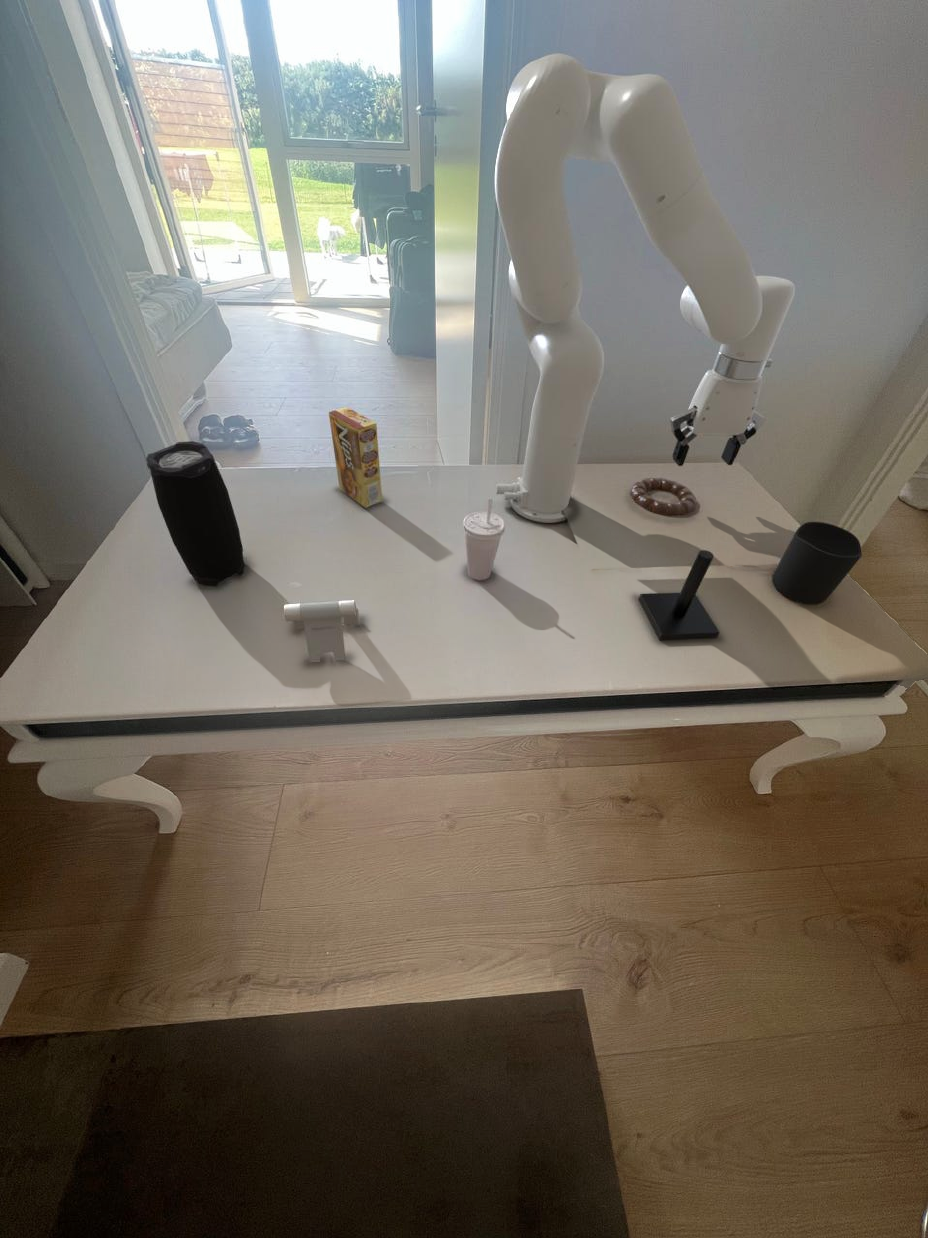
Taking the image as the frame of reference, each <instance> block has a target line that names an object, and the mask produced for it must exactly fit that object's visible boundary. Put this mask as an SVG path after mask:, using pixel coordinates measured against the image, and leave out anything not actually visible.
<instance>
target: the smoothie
mask: <svg viewBox="0 0 928 1238" xmlns="http://www.w3.org/2000/svg"><path fill="white" fill-rule="evenodd" d="M487 499H488V501H487V509H486V511H474V512H472V513H469V514H468V515H466V516H465V517H464V518H463V523H462V530H463V533H464V538H465V551H466V565H467V575H468V576H469V577H470V578H471V579H473V580H475V581H485V580H487V579H488V578H489V579H490V576H491V573H492V569H493V566H494V564H495V563H494V562H495V559H496V556H497V552H498V548H499V545H500V542H501V538H502V536H503V535H504V533H505V527H506V522H505V521H504V519H503V518H502V517H501V516H500V515H497V514H495V513H492V505H493V497H492V496H489V497H488V498H487Z"/></svg>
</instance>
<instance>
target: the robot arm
mask: <svg viewBox="0 0 928 1238" xmlns="http://www.w3.org/2000/svg"><path fill="white" fill-rule="evenodd" d="M505 109H506V120H507V121H506V123H505V125H504V128H503V130H502V135H501V137H500V142H499V146H498V150H497V155H496V162H495V168H494V169H495V171H494V193H495V201H496V206H497V211H498V215H499V219H500V222H501V227H502V232H503V234H504V238H505V243H506V247H507V250H508V254H509V257H510V261H509V267H508V284H509V289H510V293H511V296H512V299H513V302H514V305H515V308H516V312H517V315H518V318H519V321H520V324H521V327H522V331H523V334H524V337H525V340H526V343H527V346H528V349H529V351H530V354H531V356H532V358H533V360H534V362H535V363H536V365H537V367H538V370H539V381H538V385H537V388H536V391H535V394H534V399H533V403H532V408H531V413H530V418H529V420H530V421H529V428H528V434H527V441H526V449H525V454H524V455H525V456H524V462H523V468H522V476H518V477H517V482H512V483H511V484H507V483H496V484H495V489H494V491H495V495H503V500H504V501H510V505H511V507H512V509H513V510H514V512H516V513H517V514H518V515H519V516H521V517H523V518H525V519H527V520H529V521H532V522H533V521H534V522H537V523H543V524H554V523H560V522H564V521H566V520H568V519H567V516H566V513H565V511H564V510H565V509H566V508H568V506H569V503H570V499H571V494H572V490H573V486H574V481H575V477H576V472H577V467H578V464H579V459H580V455H581V449H582V446H583V441H584V436H585V433H586V427H587V423H588V418H589V415H590V411H591V408H592V405H593V404H592V403H593V401H594V397H595V395H596V393H597V390H598V388H599V384H600V382H601V379H602V376H603V373H604V367H605V352H604V348H603V344H602V343H601V340H600V339H599V337H598V336H597V334H596V333H595V332H594V330H593V329H592V328H591V327H590V326H589V325H588V323H586V322H585V321H584V320H583V319H582V316H581V313H580V309H579V303H580V301H581V297H582V294H583V274H582V268H581V265H580V262H579V257H578V254H577V251H576V247H575V243H574V238H573V235H572V231H571V225H570V222H569V217H568V211H567V206H566V200H565V191H564V176H565V175H564V174H565V170H566V169H565V168H566V164H567V161H568V158H574V159H578V160H579V159H580V160H586V161H592V162H600V163H607V164H612V165H614V166H615V168H616V170H617V172H618V175H619V176H620V179H621V181H622V183H623V186H624V187H625V189H626V191H627V193H628V196H629V199H630V200H631V202H632V205H633V207H634V209H635V211H636V213H637V216H638V219H639V220H640V222H641V225H642V227H643V229H644V232H645V234H646V235H647V237H648V239H649V241H650V242H651V243H652V245H653V247H654V248H655V250H657V252H658V253H659V254H660V255H661V256H662V257H663V258H664V259H665V260H666V261H667V262H668V263H669V264H670V265H672V266H673V268H674V269H675V270H676V271H677V272H678V273H679V274H680V276H681V277H682V278H683V280H684V282H685V283H686V286H685V287H684V289H683V291H682V293H681V296H680V299H679V301H680V302H679V309H680V314H681V315H682V317H683V319H684V320H685V322H686V323H688V324H689V325H690V326H692V327H693V328H694V329H696V330H697V331H699V332H700V333H702V334H704V335H705V336H706V337H708V338H709V339H710V340H711V341H713V342H714V343H717V344H718V345H719V344H720V347H719V350H718V353H717V355H716V358H715V361H714V364H713V367H712V369H708V370H707V371H706V372H705V374H704V375H703V377H702V379H701V381H699V384H698V386H697V388H696V390H695V392H694V394H693V396H692V399H691V401H690V404H689V406H688V409H686V410H684V411H681V412H680V413H678V414H676V415H673V416H671V417H670V418H669V423H670V426H671V433H672V434H673V436H674V437H675V439H676V443H675V446H674V449H673V452H672V460H673V462H675V464H676V465H677V466H678V467H682V466H684V463H685V461H686V458H687V455H688V452H689V450H690V445H689V443H690V442H692V441H693V440H694V439H695V438H697V436H700V437H721V436H723V437H725V436H726V437H727V436H728V439H727V442H726V444H725V446H724V448H723V451H722V453H721V457H720V458H721V459H722V461H723V462H724V463H725V464H726V465H727V466H733V464H734V461H735V459H736V458H737V456H738V454H739V452H740V449H741V447H742V446H743V445H745V444H747V440H749V439H751V438H752V437H753V436H755V435H756V433H757V431H758V430H759V429H760V428H761V427H762V426H763V425H764V424H765V423H766V418H765V417H763V416H762V415H761V414H760V413H758V412H757V411H755V410H756V407H757V404H758V401H759V397H760V394H761V390H762V384H763V376H762V374H763V372H764V370H765V369H767V368H768V369H769V368H770V367H771V366H772V364H773V359H772V358H769V357H770V355H771V353H772V351H773V348H774V345H775V342H776V340H777V338H778V335H779V333H780V331H781V328H782V326H783V324H784V321H785V319H786V317H787V314H788V311H789V309H790V307H791V305H792V302H793V300H794V297H795V294H796V286H795V284H794V283H793V282H792V281H791V280H790V279H787V278H782V277H778V276H772V275H756V272H755V270H754V267H753V264H752V261H751V259H750V256H749V254H748V252H747V250H746V248H745V247H744V244H743V243H742V241H741V239H740V237H739V235H738V234H737V232H736V231H735V229H734V228H733V226H732V224H731V223H730V221H729V219H728V217H727V216H726V213H725V211H724V210H723V208H722V207H721V205H720V204H719V202H718V200H717V199H716V197H715V196H714V194H713V192H712V190H711V187H710V184H709V182H708V179H707V176H706V174H705V171H704V168H703V166H702V163H701V160H700V158H699V155H698V152H697V150H696V147H695V144H694V141H693V138H692V136H691V133H690V130H689V127H688V124H687V121H686V118H685V116H684V114H683V110H682V108H681V104H680V102H679V100H678V97H677V95H676V93H675V91H674V89H673V87H672V86H671V84H670V82H669V81H667V79H666V78H664V77H662V76H661V75H659V74H656V73H655V74H654V73H643V74H642V73H641V74H635V75H619V74H618V75H617V74H610V73H604V72H603V73H602V72H598V71H592V70H588V69H585V68H584V67H583V65H582V64H581V62H580V61H579V60H578V59H576V58H574V57H573V56H571V55H570V54H565V53H562V52H561V53H551V54H547V55H544V56H542V57H540V58H537V59H535V60H532V61H530V62H528V63H527V64H526V65H524V66H523V67H522V68H521V69H520V71H519V72H518V73H517V75H515V77H514V79H513V81H512V82H511V85H510V88H509V90H508V95H507V98H506V108H505ZM751 420H752V421H751ZM683 423H684V425H685V426H684V427H683V428H682V429H681V426H682V424H683ZM729 436H731V437H729Z"/></svg>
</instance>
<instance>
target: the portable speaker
mask: <svg viewBox="0 0 928 1238" xmlns="http://www.w3.org/2000/svg"><path fill="white" fill-rule="evenodd" d="M146 462H147V463H146V466H147V468H148V469H149V471H150V476H151V479H152V480H151V481H152V484H153V489H154V492H155V497H156V502H157V505H158V507H159V510H160V513H161V515H162V518H163V520H164V524H165V525H166V529H167V530H168V533H169V535H170V538H171V540H172V543H173V545H174V547H175V548H176V551H177V552H178V555H179V557H180V558H181V560H182V562H183V563H184V565H185V567H186V569H187V571H188V572H189V574H190V575H191V577H192V578H193V580H194V582H196V583H198V584H200V585H201V586H205V587H217V586H218V585H219V584H220V583H221V582H223V581H225V580H227V579H229V578H231V577H233V576H235V575H239V576H241V575H242V574H244V572H245V567H246V564H245V561H244V548H243V543H242V538H241V533H240V528H239V524H238V521H237V518H236V515H235V510H234V507H233V504H232V501H231V497H230V494H229V490H228V488H227V486H226V483H225V481H224V478H223V476H222V474H221V472H220V469H219V467H218V465H217V462H216V460H215V458H214V456H213V454H212V453H211V451H210V450H209V449H208V447H207V446H206V445H205V444H204V443H201V442H197V441H194V440H193V441H191V440H190V441H188V440H187V441H178V442H176V443H174V444H173V445H170V446H169V445H168V446H167V447H164V448H162V449H160V450H157V451H155V452H151V453H148V454H147V456H146Z"/></svg>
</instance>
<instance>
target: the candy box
mask: <svg viewBox="0 0 928 1238" xmlns="http://www.w3.org/2000/svg"><path fill="white" fill-rule="evenodd" d="M328 418H329V424H330V433H331V439H332V446H333V453H334V460H335V467H336V475H337V481H338V482H337V483H338V488H339V490H340V491H341V492H343V494H344V495H345V494H346V495H347V496H348V497H349V498H351V499H352V500H354V502H356V503H358V504H359V505H361V506H362V507H364V508H365V509H367V508H369V507H371V506H374V505H376V504H379V503H381V502H382V501H383V495H382V494H383V493H382V482H381V470H380V469H381V468H380V456H379V453H380V452H379V442H378V441H379V440H378V428H377V423H376V422H374V421H373V420H371V419H369V418H368V417H366V416H365V415H363V414H361V413H359V412H357V411H355V410H354V409H352V408H350V407H349V406H345V407H341V408H337V409H335V410H331V411H329V412H328Z"/></svg>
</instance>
